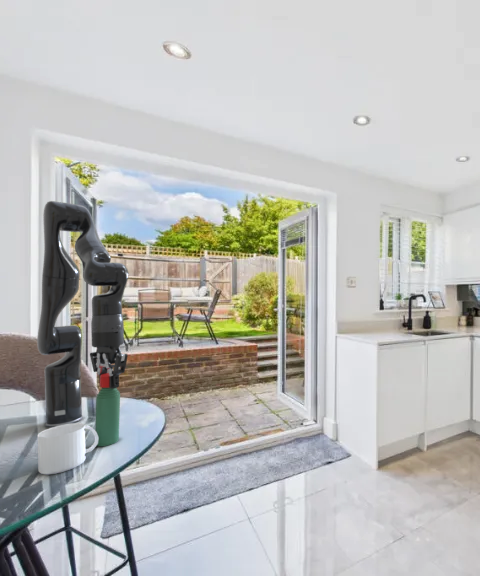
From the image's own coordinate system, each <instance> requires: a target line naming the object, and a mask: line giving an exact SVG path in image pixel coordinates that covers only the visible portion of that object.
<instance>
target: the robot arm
mask: <svg viewBox="0 0 480 576" xmlns="http://www.w3.org/2000/svg"><path fill="white" fill-rule="evenodd" d="M42 214H43V221H42V222H43V241H44V242H43V243H44V245H43V246H44V247H43V248H44V249H43V264H42V266H43V267H42V273H41V307H40V308H41V309H40V316H39V324H38V331H37V338H36V345H37V350H38V352H39V354H40V355H42V356H49V355H56V354H64V356H63V357H62V358H60V359H59V360H58V359H57V361H54V362H52V363H49V364H47V365H45V367H44V400H45V402H44V403H45V427H47V428H52V427H56V426H60V425H64V424H71V423H78V422H79V421H81V420H82V419H83V403H82V402H83V401H82V369H81V367H82V344H83V335H82V330H81V329H80V327H79V326H78V325H75V324H74V325H72V324H71V325H70V324H69V325H60V326H59V325H58V326H56V323H57V319H58V318H59V315H60V314H61V312H62V311H63V310H64V309H65V308H66V306H67V305H68V304H69V303H70V302H71V301H72V300H73V299H74V298H75V296H76V295H77V294H78V292H79V289H80V279H81V271H80V269H79V267H78V264H77V263H76V262H75V261H74V260H73V258H72V257H71V256H70V255H69V253H68V251H67V250H66V248H65V247H64V245H63V242H62V239H61V232H71V233H81V234H80V235H78V238H77V239H76V240H75V242H74V251H75V253H76V255H77V257H78V258H79V261H81V263H82V279H83V281H84V282H85V283H86V284H87V285H89V286H93V287H110V288H109V290H108V291H107V292H105V293H100V294H96V295H94V296H92V299H91V321H90V328H91V329H90V331H91V334H90V335H91V347H93V348H96V351H94V352H93V351H92V352H89V357H90V362H91V366H92V371H93V372H94V373H96V374H97V375H98V386H99V387H100V375H102V374H106V373H109V375H110V376H109V386H110V389H114V388H117V389H118V388H120V375H121V374H124V373H125V371H126V366H127V361H128V358H129V357H128V356H129V355H128V353H122V351H121V347H120V346H122V345H123V344H124V343H125V329H124V328H125V327H124V326H125V325H124V317H123V298H124V293H125V289H126V286H127V284H128V280H129V276H130V275H129V273H130V272H129V269H128V267H127V266H126V265H125V264H123V263H121V262H111V261H112V257H111V254H110V252H109V251H108V250H107V248H106V247H105V246H104V244H103V242H102V240H101V238H100V236H99V233H98V230H97V227H96V224H95V222H94V219H93V216H92V214H91V212H90V210H89V209H88V208H87V207H86V206H85V205H82V204H76V203H71V202H62V201H55V200H49V201H47V202H46V203H45V205H44V208H43V213H42Z"/></svg>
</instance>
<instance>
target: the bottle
mask: <svg viewBox="0 0 480 576" xmlns="http://www.w3.org/2000/svg"><path fill="white" fill-rule="evenodd" d="M120 409H121V393H120V391H119V389H118V388H114V389H110V387H108V388H102V387H101V389H100V390H99V391H98V393H97V394H96V397H95V423H94V424H95V426H94V427H95V428H94V430H95V431H96V432H97V434H98V437H99V439H98V444H97V445H96V447H106V446H110V445H111V446H112V445H114V444H116V443H118V442H119V440H120V417H121V415H120V411H121V410H120Z"/></svg>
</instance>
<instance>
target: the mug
mask: <svg viewBox="0 0 480 576" xmlns="http://www.w3.org/2000/svg"><path fill="white" fill-rule="evenodd" d="M86 430H89V431H90V432H91V433H92V435H93V437H94V442H93V443H92V444H91V446H89V448H86ZM98 439H99V437H98V434H97V432H96V431H95V428H93V427H92V426H90V425H85V423H82V422H75V423H71V424H64V425H60V426H56V427H48V428H46V429H44V430H42V431H40V432H39V433H38V434H37V467H38V470H37V471H38V473H39V474H41V475H54V474H60V473H63V472H67V471H70V470H72V469H75V468H77V467H79V466H81V465H82V464H84V462H86V458H87V456H86V454H87V453H91V452H92V451H93V450H94V449H95V448H96V447H97V446H96V445H97V444H98Z"/></svg>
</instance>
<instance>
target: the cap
mask: <svg viewBox="0 0 480 576" xmlns="http://www.w3.org/2000/svg"><path fill="white" fill-rule="evenodd" d="M109 376H110V375H109V372H108V373H106V374H102V375H100V386H99V387H100V388H101V389H102V388H108V387H110V386H109Z"/></svg>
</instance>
